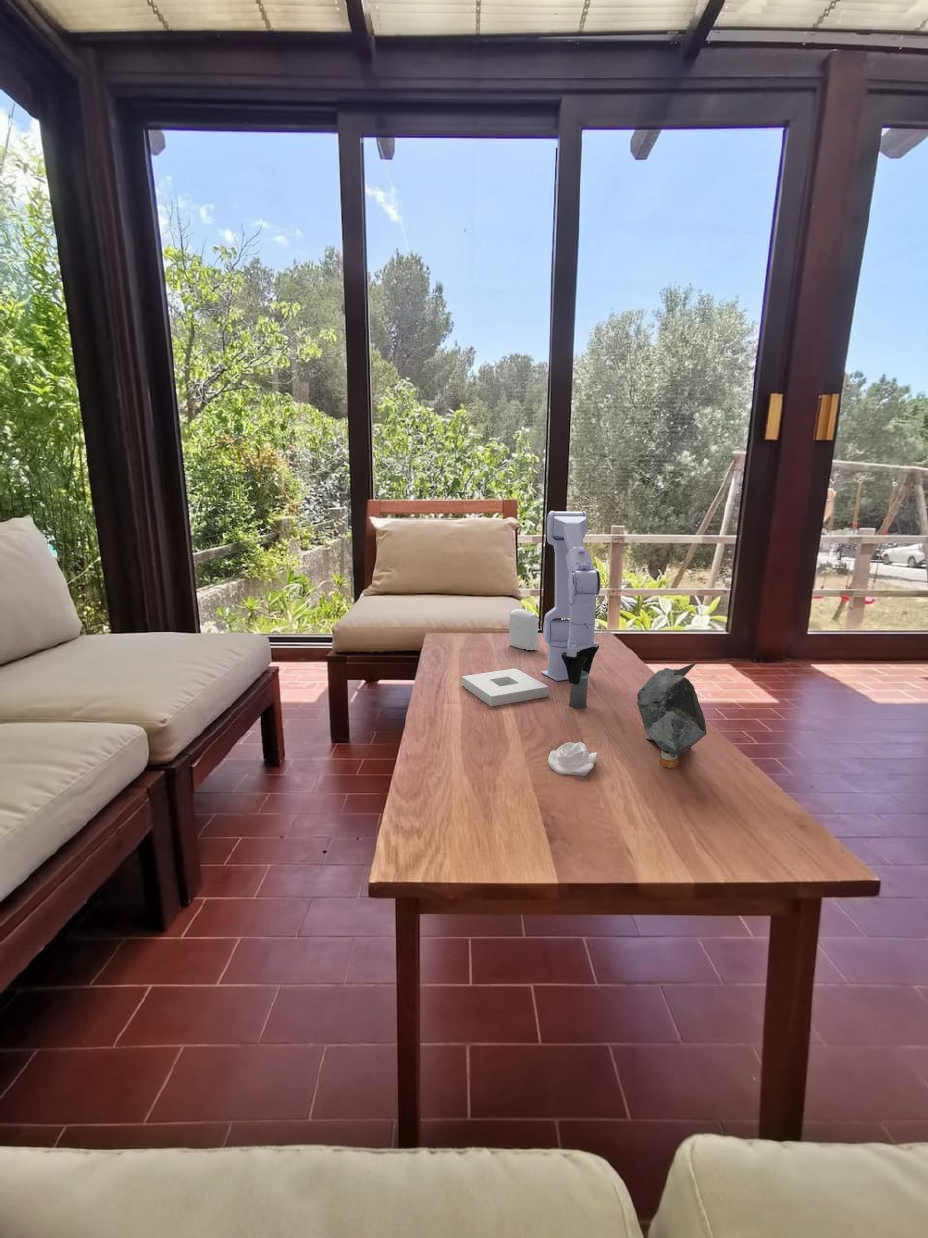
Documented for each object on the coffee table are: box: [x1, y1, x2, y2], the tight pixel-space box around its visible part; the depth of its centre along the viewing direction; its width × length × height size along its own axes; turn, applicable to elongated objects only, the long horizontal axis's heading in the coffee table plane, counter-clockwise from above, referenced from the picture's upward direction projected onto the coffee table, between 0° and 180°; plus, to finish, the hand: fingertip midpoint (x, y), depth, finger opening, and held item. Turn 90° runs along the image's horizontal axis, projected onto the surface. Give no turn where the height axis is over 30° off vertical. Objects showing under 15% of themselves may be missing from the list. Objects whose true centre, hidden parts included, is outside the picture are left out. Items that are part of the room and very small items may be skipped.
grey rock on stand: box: [636, 661, 707, 769], centre depth 112 cm, size 14×15×18 cm
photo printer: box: [508, 608, 539, 651], centre depth 187 cm, size 10×4×12 cm, turn 39°
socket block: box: [461, 668, 550, 707], centre depth 149 cm, size 16×16×2 cm
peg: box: [568, 671, 589, 710], centre depth 139 cm, size 4×4×8 cm
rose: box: [547, 741, 599, 777], centre depth 111 cm, size 10×4×10 cm
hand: (579, 679), depth 139 cm, fingers open, 7 cm apart
